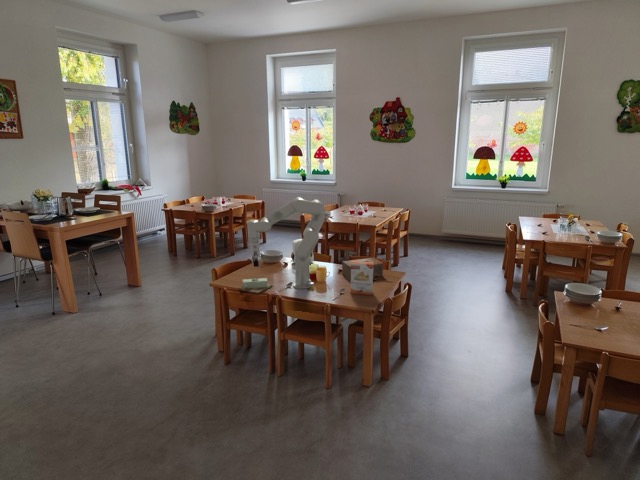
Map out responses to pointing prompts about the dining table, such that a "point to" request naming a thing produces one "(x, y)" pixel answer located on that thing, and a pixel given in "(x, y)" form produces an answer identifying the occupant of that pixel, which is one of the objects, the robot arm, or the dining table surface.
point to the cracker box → (361, 277)
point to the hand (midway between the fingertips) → (255, 264)
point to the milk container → (294, 252)
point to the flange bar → (255, 283)
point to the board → (256, 289)
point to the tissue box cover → (376, 266)
